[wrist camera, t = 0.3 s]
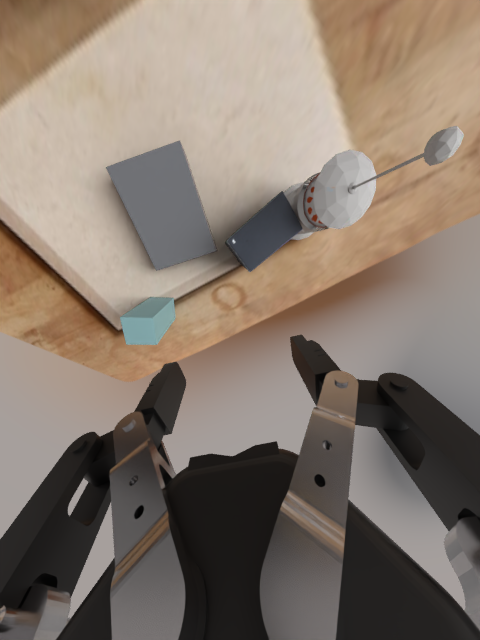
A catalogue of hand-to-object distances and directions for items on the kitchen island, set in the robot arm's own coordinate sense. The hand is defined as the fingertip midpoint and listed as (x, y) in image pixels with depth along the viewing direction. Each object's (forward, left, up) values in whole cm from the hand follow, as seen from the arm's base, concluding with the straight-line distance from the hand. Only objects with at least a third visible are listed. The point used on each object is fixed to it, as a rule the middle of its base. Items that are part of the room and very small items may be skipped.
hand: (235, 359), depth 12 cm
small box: (-7, +8, -29) cm, 31 cm away
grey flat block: (-15, -6, -29) cm, 33 cm away
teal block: (+1, -16, -29) cm, 33 cm away
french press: (-9, +19, -29) cm, 36 cm away
